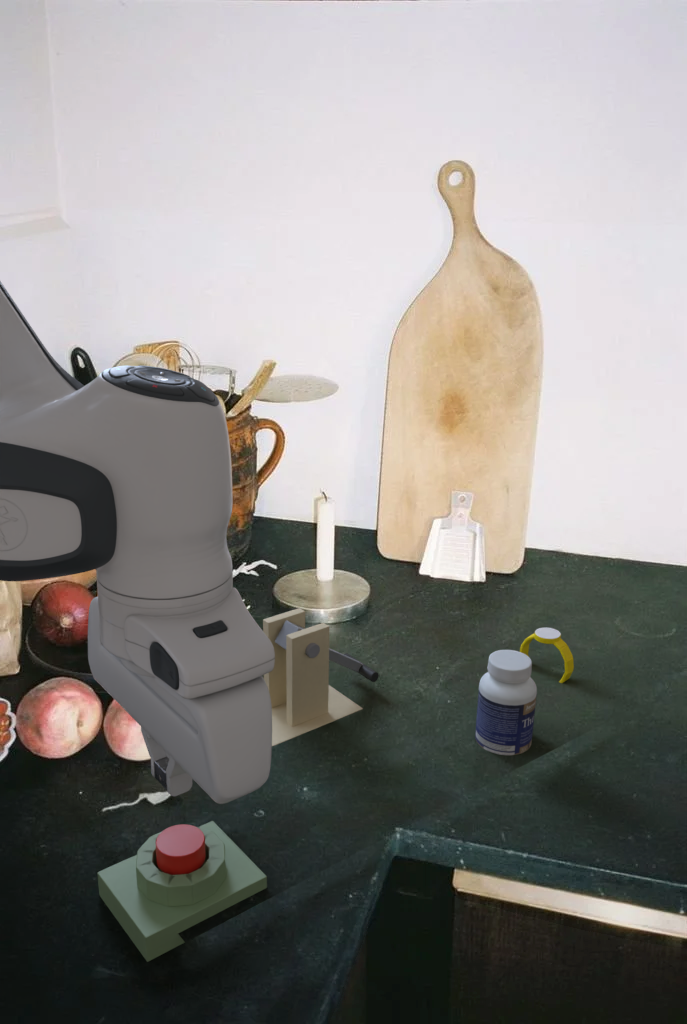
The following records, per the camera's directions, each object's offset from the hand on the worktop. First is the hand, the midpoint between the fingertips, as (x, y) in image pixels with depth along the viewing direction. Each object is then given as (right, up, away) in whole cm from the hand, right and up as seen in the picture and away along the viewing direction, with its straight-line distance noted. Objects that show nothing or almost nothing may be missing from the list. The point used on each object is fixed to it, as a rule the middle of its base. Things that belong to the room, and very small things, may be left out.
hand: (171, 783), depth 67 cm
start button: (0, -6, +2) cm, 7 cm away
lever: (+10, +4, +27) cm, 29 cm away
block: (0, -10, +4) cm, 10 cm away
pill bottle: (+28, -3, +23) cm, 36 cm away
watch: (+34, +1, +35) cm, 49 cm away
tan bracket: (+8, -1, +27) cm, 28 cm away
